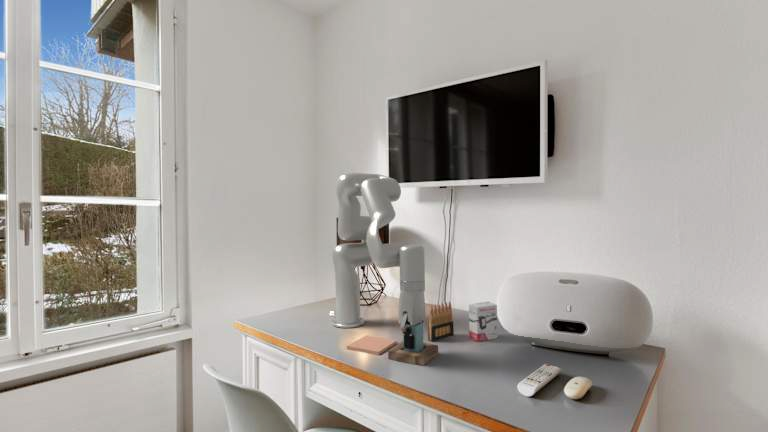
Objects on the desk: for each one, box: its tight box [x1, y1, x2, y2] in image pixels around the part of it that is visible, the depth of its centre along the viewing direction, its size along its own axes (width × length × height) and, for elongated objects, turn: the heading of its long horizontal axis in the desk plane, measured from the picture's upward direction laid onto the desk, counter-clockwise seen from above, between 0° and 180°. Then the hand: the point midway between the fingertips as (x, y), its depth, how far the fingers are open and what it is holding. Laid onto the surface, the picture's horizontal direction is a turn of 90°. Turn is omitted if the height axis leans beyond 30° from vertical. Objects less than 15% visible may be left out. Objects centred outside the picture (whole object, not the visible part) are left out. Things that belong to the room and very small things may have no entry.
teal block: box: [402, 321, 424, 353], centre depth 121 cm, size 4×4×10 cm
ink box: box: [468, 301, 498, 343], centre depth 137 cm, size 8×5×12 cm, turn 115°
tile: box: [346, 335, 398, 356], centre depth 131 cm, size 12×12×1 cm
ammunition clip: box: [427, 301, 455, 342], centre depth 138 cm, size 11×2×12 cm, turn 127°
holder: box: [387, 340, 439, 367], centre depth 121 cm, size 12×12×2 cm
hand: (413, 344), depth 121 cm, fingers open, 5 cm apart
